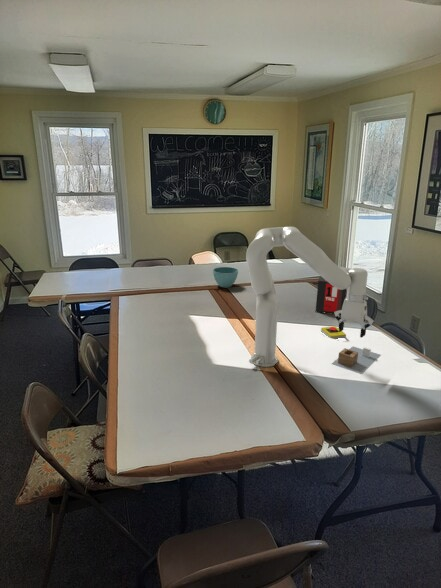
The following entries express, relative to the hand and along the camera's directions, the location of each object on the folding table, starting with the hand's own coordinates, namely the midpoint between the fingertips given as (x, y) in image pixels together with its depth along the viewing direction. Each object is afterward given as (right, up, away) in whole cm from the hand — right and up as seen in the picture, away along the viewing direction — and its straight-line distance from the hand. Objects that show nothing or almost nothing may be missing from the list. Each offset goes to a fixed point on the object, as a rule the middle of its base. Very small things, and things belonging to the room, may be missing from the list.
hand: (351, 333), depth 180 cm
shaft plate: (+5, -14, +8) cm, 17 cm away
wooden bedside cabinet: (0, -14, +5) cm, 14 cm away
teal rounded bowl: (-54, +23, +118) cm, 132 cm away
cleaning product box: (+10, +7, +71) cm, 72 cm away
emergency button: (+2, -5, +36) cm, 37 cm away
